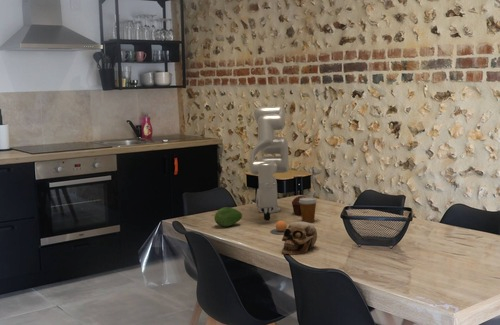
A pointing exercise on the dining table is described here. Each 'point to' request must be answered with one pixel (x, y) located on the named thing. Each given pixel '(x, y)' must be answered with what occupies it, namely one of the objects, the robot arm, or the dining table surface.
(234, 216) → the fruit
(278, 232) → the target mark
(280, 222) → the ball
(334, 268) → the dining table surface
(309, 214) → the disposable coffee cup
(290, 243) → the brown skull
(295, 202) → the muffin
